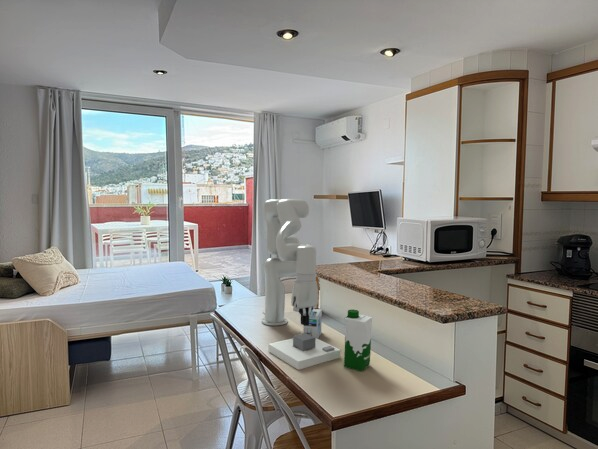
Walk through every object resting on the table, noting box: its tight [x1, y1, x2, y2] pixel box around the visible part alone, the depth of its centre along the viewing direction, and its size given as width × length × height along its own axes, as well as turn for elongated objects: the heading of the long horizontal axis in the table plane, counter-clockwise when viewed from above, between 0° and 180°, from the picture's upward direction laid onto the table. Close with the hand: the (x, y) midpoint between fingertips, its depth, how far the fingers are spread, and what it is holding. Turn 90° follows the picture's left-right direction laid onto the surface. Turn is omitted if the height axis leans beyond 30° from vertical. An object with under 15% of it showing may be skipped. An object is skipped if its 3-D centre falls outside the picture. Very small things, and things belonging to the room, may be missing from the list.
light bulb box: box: [302, 308, 323, 340], centre depth 174 cm, size 11×7×11 cm, turn 168°
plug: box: [292, 332, 316, 351], centre depth 152 cm, size 6×6×6 cm
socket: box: [267, 337, 342, 370], centre depth 153 cm, size 20×20×4 cm
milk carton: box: [343, 309, 373, 372], centre depth 143 cm, size 9×9×20 cm
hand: (304, 324), depth 152 cm, fingers closed
